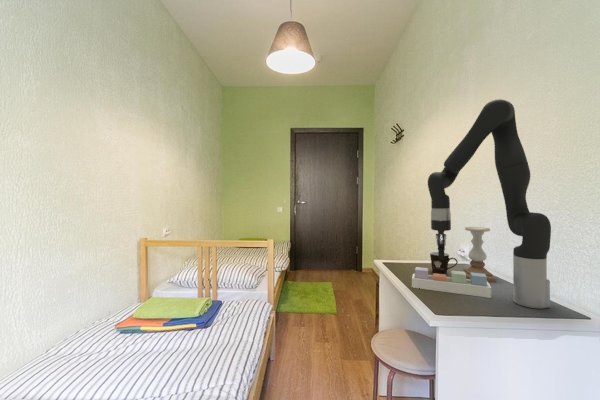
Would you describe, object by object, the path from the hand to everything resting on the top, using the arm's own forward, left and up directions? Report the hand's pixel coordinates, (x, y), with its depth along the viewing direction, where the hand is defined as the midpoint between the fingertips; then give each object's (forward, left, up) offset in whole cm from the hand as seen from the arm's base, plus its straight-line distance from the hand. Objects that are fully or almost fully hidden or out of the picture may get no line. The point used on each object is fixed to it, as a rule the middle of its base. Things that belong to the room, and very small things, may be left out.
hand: (441, 259), depth 117 cm
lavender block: (+8, -1, -9) cm, 12 cm away
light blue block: (-12, +6, -9) cm, 16 cm away
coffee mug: (-8, -21, -13) cm, 25 cm away
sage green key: (-5, +3, -9) cm, 11 cm away
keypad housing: (-2, +2, -12) cm, 13 cm away
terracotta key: (+1, +1, -11) cm, 11 cm away
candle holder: (-22, -16, -13) cm, 30 cm away
